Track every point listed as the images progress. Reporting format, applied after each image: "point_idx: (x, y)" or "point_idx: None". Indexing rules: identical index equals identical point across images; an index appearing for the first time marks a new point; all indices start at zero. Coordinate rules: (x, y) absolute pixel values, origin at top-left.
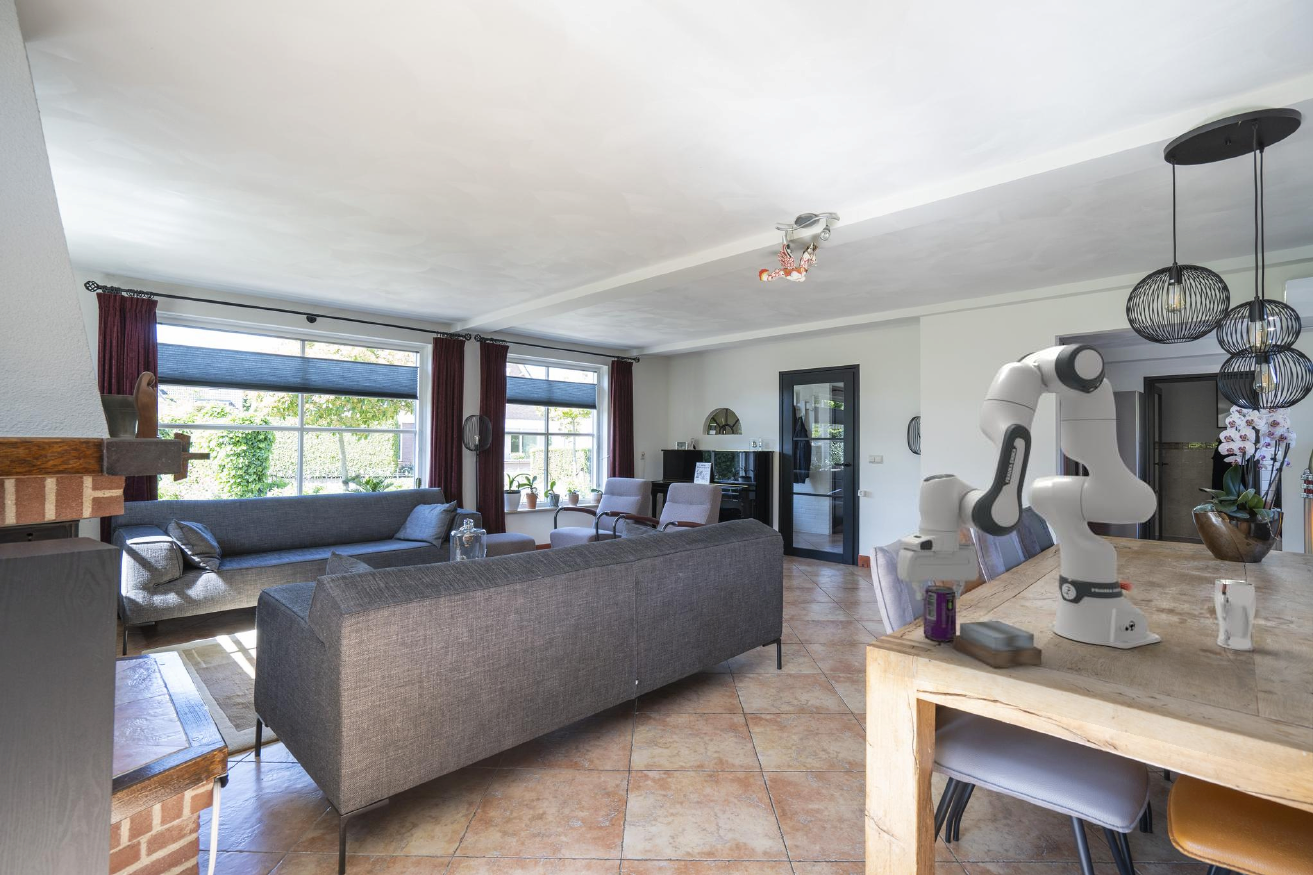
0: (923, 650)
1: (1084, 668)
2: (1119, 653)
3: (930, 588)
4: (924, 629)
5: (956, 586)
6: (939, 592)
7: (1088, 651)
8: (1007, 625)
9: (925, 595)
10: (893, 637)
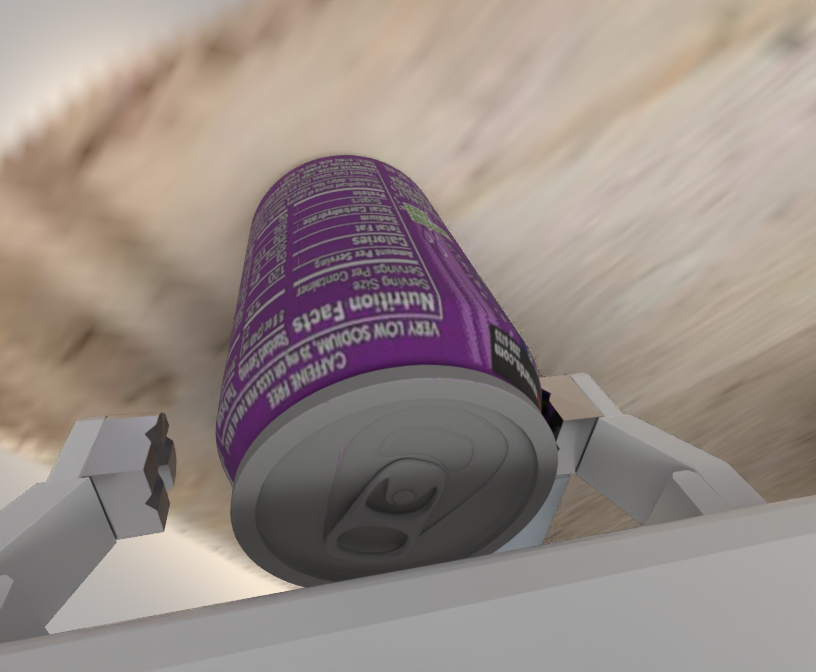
0: (120, 390)
1: (568, 534)
2: (785, 459)
3: (311, 465)
4: (248, 240)
5: (645, 467)
6: (308, 567)
7: (737, 443)
8: (535, 530)
9: (164, 507)
10: (3, 162)
